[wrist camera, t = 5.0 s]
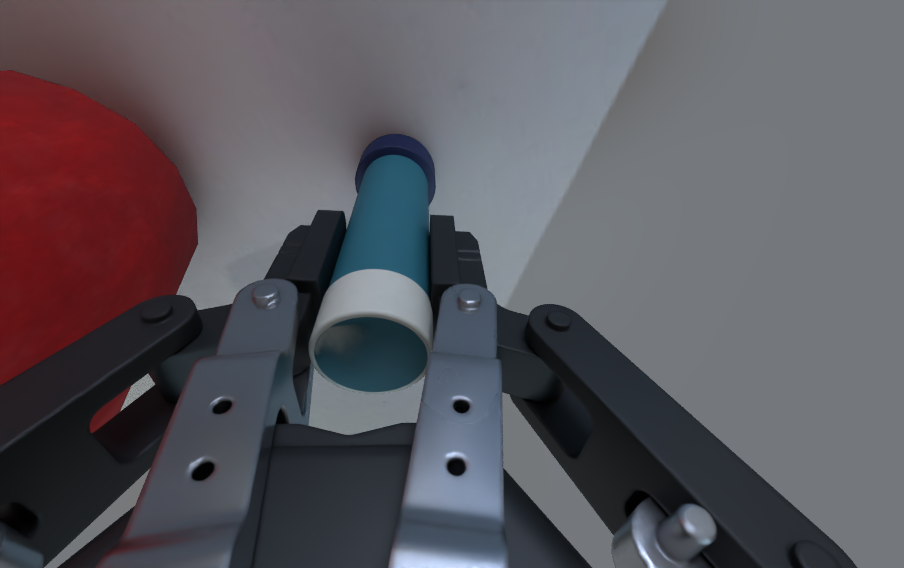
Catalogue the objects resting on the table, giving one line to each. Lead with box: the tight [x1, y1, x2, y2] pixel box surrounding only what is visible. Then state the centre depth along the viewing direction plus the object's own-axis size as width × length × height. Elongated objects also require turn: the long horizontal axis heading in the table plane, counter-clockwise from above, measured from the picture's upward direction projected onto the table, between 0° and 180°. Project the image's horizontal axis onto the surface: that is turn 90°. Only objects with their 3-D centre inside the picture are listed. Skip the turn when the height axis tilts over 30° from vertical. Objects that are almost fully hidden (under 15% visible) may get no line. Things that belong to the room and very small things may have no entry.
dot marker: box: [308, 134, 435, 394], centre depth 13 cm, size 3×3×10 cm
